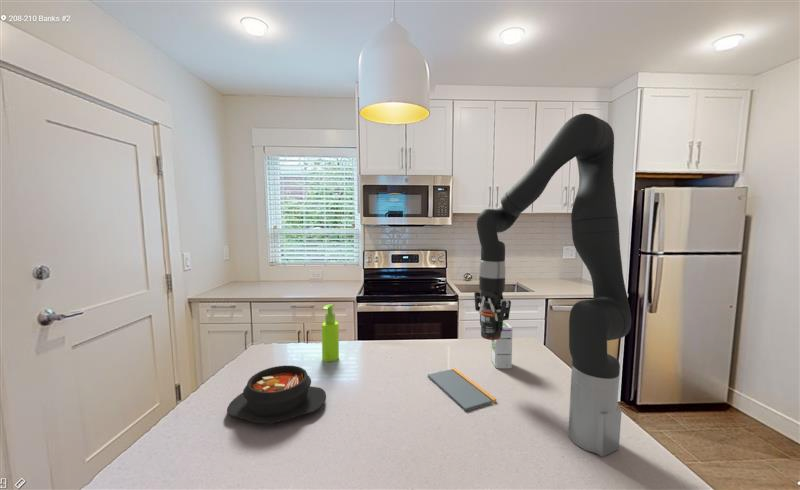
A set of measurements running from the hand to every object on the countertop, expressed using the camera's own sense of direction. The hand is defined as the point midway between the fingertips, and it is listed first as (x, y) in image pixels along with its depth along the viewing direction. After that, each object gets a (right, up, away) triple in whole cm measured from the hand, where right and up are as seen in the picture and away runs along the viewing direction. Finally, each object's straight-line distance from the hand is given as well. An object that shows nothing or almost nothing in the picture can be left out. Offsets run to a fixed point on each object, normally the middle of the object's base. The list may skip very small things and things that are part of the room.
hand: (490, 328), depth 97 cm
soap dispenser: (-53, -16, +18) cm, 58 cm away
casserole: (-61, -18, -12) cm, 65 cm away
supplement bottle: (0, -3, 0) cm, 3 cm away
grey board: (-9, -18, -2) cm, 20 cm away
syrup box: (+8, -17, +14) cm, 23 cm away
